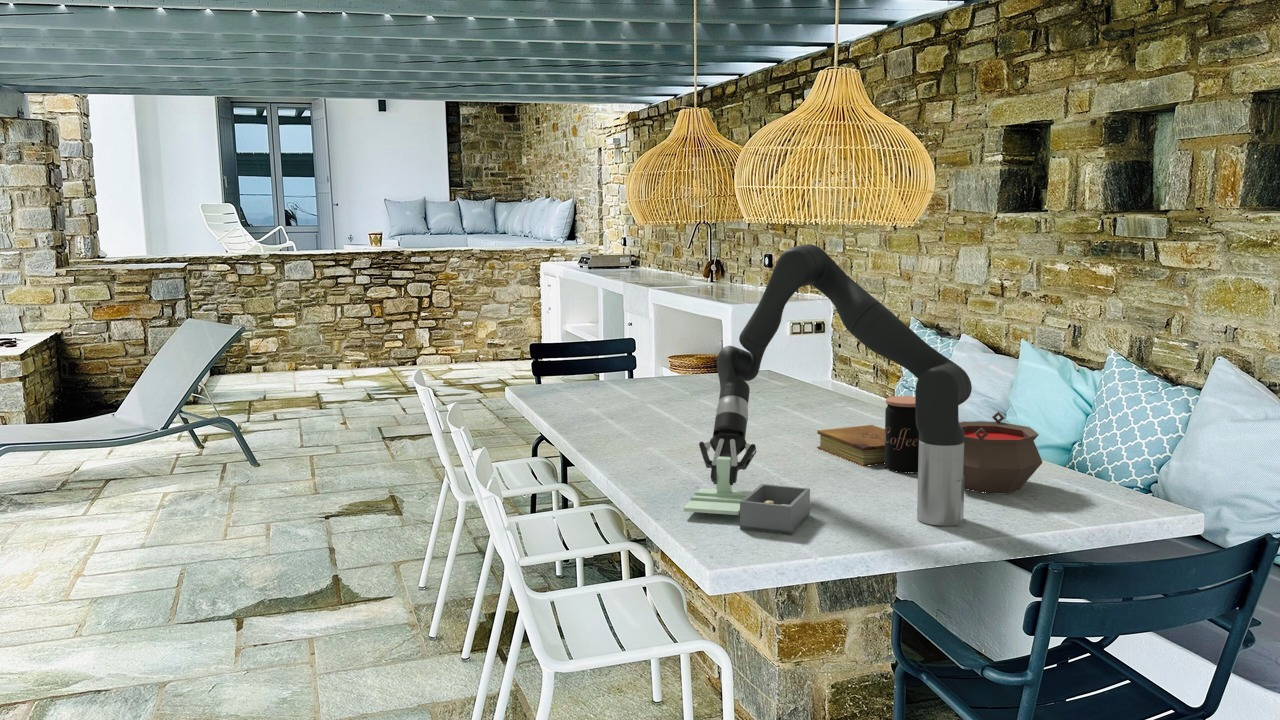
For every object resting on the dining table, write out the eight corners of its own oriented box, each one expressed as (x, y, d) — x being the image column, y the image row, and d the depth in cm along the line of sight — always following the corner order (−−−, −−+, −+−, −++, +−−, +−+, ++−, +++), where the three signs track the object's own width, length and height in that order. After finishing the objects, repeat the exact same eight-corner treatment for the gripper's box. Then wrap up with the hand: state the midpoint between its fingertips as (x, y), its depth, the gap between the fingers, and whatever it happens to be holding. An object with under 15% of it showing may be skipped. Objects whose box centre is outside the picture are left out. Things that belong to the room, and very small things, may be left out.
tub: (809, 515, 220) (810, 488, 220) (791, 535, 207) (791, 506, 206) (761, 510, 225) (761, 483, 224) (740, 529, 211) (739, 501, 210)
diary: (923, 462, 269) (923, 440, 268) (862, 469, 262) (863, 447, 261) (873, 443, 290) (874, 423, 289) (816, 449, 283) (817, 429, 282)
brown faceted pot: (1033, 505, 225) (1036, 433, 223) (925, 492, 237) (926, 424, 235) (1048, 480, 246) (1051, 414, 244) (948, 469, 258) (950, 406, 256)
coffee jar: (876, 469, 259) (877, 400, 257) (898, 461, 267) (899, 394, 264) (913, 476, 252) (914, 405, 249) (935, 468, 259) (936, 399, 257)
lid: (751, 494, 231) (751, 457, 230) (738, 515, 216) (738, 475, 214) (700, 491, 234) (700, 454, 233) (683, 511, 219) (683, 471, 218)
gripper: (699, 409, 237) (690, 473, 227) (759, 411, 234) (752, 476, 224) (703, 427, 243) (694, 489, 233) (762, 429, 240) (755, 493, 230)
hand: (723, 482), depth 228 cm, fingers closed on lid, 3 cm apart
